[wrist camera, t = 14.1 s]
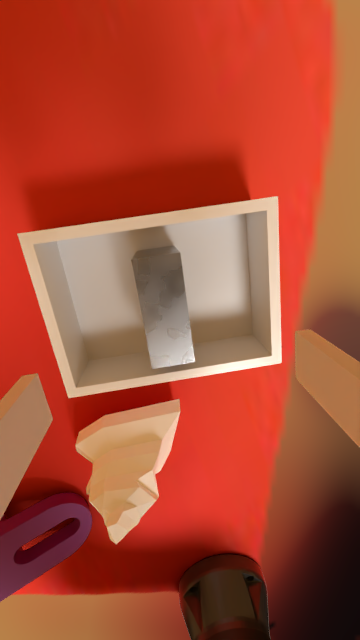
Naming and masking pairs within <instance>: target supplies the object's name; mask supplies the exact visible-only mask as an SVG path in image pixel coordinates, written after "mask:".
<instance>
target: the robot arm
mask: <svg viewBox="0 0 360 640" xmlns="http://www.w3.org/2000/svg"><path fill="white" fill-rule="evenodd" d="M295 368H296V379H297V380H298V381H299V383H300V384H301V385H302V386H303V387H304V388H305V389H306V390H307V391H308V392H309V393H310V394H311V396H312V397H313V398H314V399H315V400H316V401H317V402H318V403H319V404H320V405H321V406H322V407H323V408H324V410H325V411H326V412H327V413H328V414H329V415H330V416H331V417H332V418H333V419H334V420H335V422H336V423H337V424H338V425H339V426H340V427H341V428H342V429H343V430H344V431H345V432H346V433H347V434H348V435H349V437H350V438H351V439H352V440H353V441H354V442H355V443H356V444H357V445H358V446H359V447H360V362H358V361H357V360H355V359H354V358H352V357H351V356H349V355H348V354H346V353H345V352H343V351H342V350H340V349H339V348H337V347H336V346H334V345H333V344H331V343H330V342H328V341H327V340H325V339H324V338H322V337H321V336H319V335H318V334H316V333H315V332H313V331H312V330H310V329H308V330H301V331H295ZM52 420H53V417H52V414H51V411H50V408H49V406H48V403H47V400H46V397H45V394H44V391H43V388H42V385H41V382H40V379H39V376H38V373H36V374H30V375H24V376H21V378H20V379H19V380H18V381H17V382H16V383H15V384H14V385H13V387H12V388H11V389H10V390H9V391H8V392H7V393H6V395H5V396H4V397H3V398H2V399H1V400H0V520H1V518H2V516H3V514H4V512H5V510H6V508H7V507H8V505H9V503H10V501H11V499H12V497H13V495H14V493H15V491H16V489H17V487H18V485H19V484H20V482H21V480H22V478H23V476H24V474H25V472H26V470H27V468H28V466H29V464H30V463H31V461H32V459H33V457H34V455H35V453H36V451H37V449H38V447H39V445H40V443H41V441H42V440H43V438H44V436H45V434H46V432H47V430H48V428H49V426H50V424H51V422H52ZM179 600H180V607H181V611H182V613H183V617H184V620H185V623H186V626H187V629H188V632H189V635H190V638H191V640H271V639H270V634H269V619H268V599H267V587H266V583H265V580H264V576H263V573H262V570H261V568H260V567H259V565H258V564H257V563H256V562H254V561H253V560H251V559H249V558H247V557H244V556H240V555H233V554H225V555H217V556H213V557H209V558H206V559H204V560H202V561H200V562H198V563H196V564H194V565H193V566H192V567H190V568H189V569H188V570H187V571H186V572H185V573H184V575H183V576H182V578H181V580H180V583H179Z"/></svg>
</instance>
